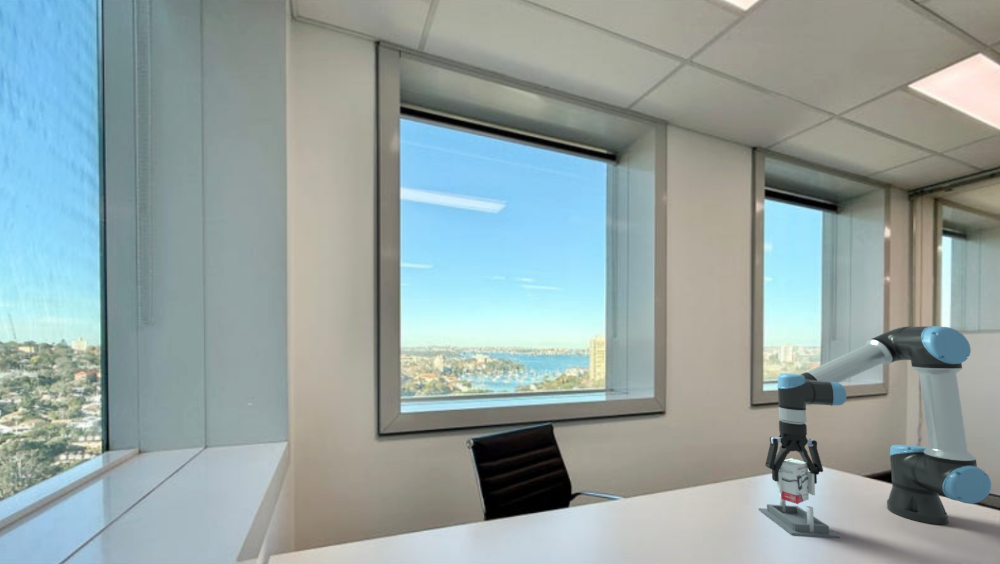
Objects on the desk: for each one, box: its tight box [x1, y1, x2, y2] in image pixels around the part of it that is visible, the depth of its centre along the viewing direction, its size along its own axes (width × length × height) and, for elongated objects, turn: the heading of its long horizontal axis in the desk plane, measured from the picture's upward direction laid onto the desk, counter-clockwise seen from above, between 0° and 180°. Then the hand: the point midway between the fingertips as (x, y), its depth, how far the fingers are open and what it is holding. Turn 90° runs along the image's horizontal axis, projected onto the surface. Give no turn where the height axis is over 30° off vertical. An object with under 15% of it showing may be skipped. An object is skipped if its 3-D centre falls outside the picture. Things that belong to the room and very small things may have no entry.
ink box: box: [779, 458, 810, 505], centre depth 139 cm, size 8×5×12 cm, turn 123°
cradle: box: [758, 493, 841, 539], centre depth 138 cm, size 14×18×8 cm
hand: (794, 492), depth 138 cm, fingers closed on ink box, 9 cm apart
